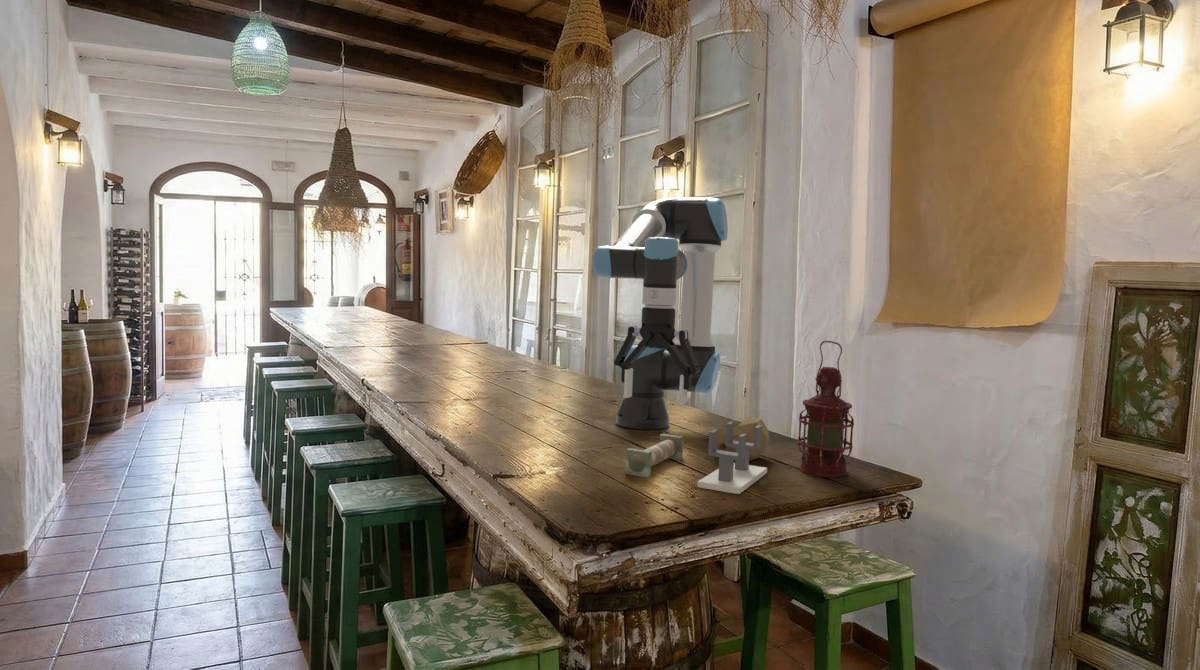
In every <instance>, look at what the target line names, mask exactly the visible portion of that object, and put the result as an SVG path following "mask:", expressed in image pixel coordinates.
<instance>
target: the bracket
mask: <svg viewBox="0 0 1200 670" xmlns="http://www.w3.org/2000/svg"><path fill="white" fill-rule="evenodd" d="M734 425H735V422H734V421H729V422H727V423H726V424H725V426H726V442H725V446H730V447H736V453H735V452H728V451H721V450H717V430H718V429H717V430H716V429H712V430H711V431H709V433H708V434H709V435H708V449H707V451H708V454H707V456H709V457H716V458H719V460H718V468H717V469H716V470H714V471H712V472H711V473H709V474H707V475H705V476H704V477H702V478H700V479H699V480H698V481H697V488H701V489H707V490H711V491H712V490H713V491H719V492H724V493H730V494H736V495H740V494H741V492H742V493H743V492H744V491H745V490H747V489H749V487H750V486H752V485H753V484H755V483H756V482H757V481H759V480H760V479H761V478H762V477H764V476H765V475H766V474H767V473H768V467H765V466H758V465H753V464H750V461H749V452H750V449H751V450H758V449H760V448H761V431H762V426H760V425H758V426H756V427H755V428H754V443H747V442H746V437H747V434H742V435H740V436H739V441H733V430H734Z"/></svg>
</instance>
